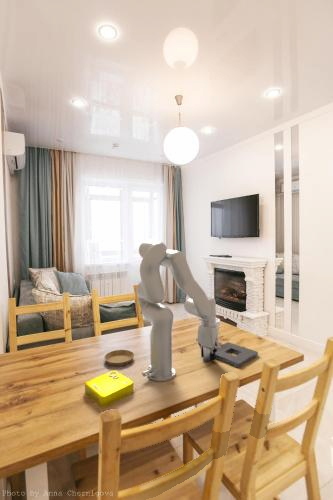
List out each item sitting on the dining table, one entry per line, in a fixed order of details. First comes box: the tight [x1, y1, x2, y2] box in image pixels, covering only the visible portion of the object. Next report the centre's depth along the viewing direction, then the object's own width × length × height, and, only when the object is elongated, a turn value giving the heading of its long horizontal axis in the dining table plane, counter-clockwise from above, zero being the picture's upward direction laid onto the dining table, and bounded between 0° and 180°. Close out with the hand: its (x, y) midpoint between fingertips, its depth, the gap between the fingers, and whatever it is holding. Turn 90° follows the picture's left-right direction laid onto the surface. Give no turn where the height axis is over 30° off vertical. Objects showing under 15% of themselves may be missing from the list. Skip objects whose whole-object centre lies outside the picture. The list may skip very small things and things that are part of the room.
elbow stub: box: [202, 345, 214, 363], centre depth 132 cm, size 5×5×8 cm
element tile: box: [84, 369, 134, 408], centre depth 106 cm, size 15×15×5 cm
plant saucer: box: [104, 349, 135, 367], centre depth 133 cm, size 15×15×3 cm
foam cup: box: [216, 317, 221, 334], centre depth 155 cm, size 10×9×13 cm
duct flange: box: [213, 341, 259, 368], centre depth 137 cm, size 18×18×2 cm
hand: (208, 357), depth 132 cm, fingers closed on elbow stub, 5 cm apart
